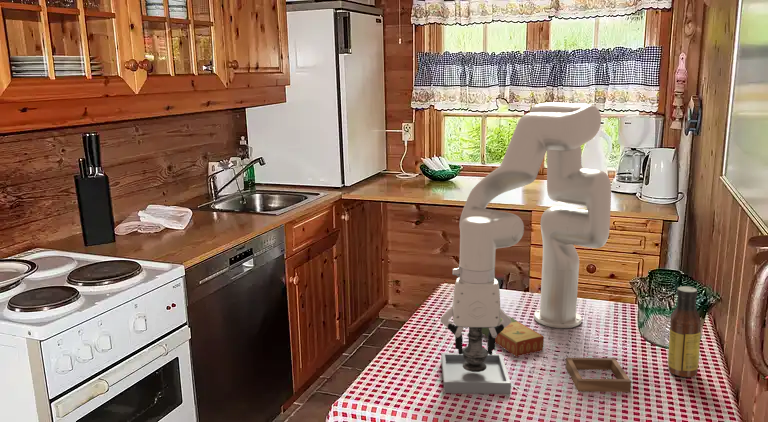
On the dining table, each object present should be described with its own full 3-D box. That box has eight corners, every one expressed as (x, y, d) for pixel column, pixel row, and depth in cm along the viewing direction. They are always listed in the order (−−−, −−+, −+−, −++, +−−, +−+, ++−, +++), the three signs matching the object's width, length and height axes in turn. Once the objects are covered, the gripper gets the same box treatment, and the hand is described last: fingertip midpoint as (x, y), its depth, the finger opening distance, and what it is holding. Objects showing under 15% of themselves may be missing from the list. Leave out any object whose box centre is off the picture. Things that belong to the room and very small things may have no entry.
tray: (441, 362, 147) (441, 353, 146) (501, 363, 146) (501, 353, 145) (444, 392, 133) (444, 382, 132) (510, 393, 132) (510, 383, 132)
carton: (515, 358, 150) (516, 341, 149) (479, 333, 164) (479, 318, 163) (543, 351, 153) (544, 335, 152) (505, 328, 167) (506, 312, 166)
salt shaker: (467, 374, 135) (468, 322, 133) (457, 362, 141) (458, 312, 138) (492, 370, 137) (494, 319, 134) (481, 359, 142) (482, 309, 140)
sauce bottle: (698, 370, 142) (707, 287, 138) (696, 381, 137) (705, 295, 133) (667, 363, 145) (675, 282, 141) (663, 374, 140) (672, 290, 136)
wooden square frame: (565, 367, 144) (566, 357, 143) (614, 368, 143) (614, 358, 143) (578, 391, 133) (578, 380, 132) (630, 392, 133) (631, 381, 132)
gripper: (437, 279, 131) (436, 359, 135) (520, 280, 130) (516, 360, 134) (436, 268, 138) (435, 344, 142) (514, 269, 137) (511, 345, 141)
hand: (474, 351), depth 138 cm, fingers closed on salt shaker, 5 cm apart
